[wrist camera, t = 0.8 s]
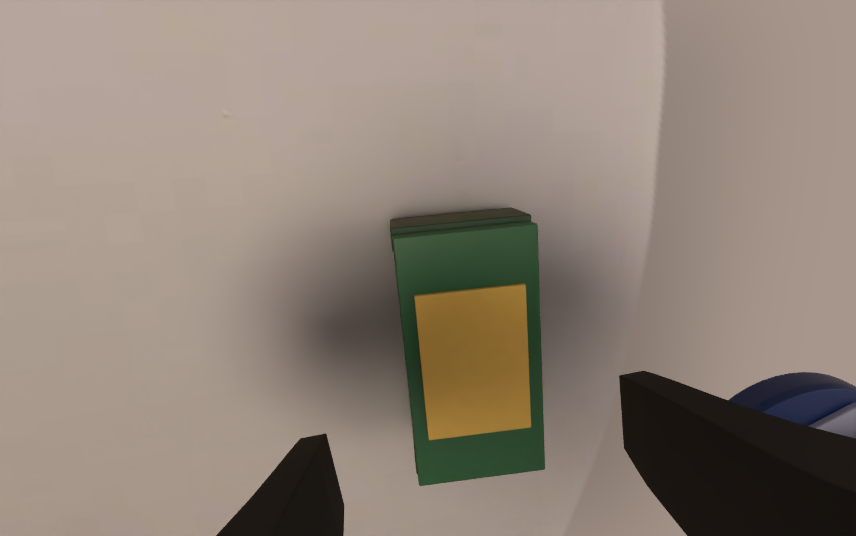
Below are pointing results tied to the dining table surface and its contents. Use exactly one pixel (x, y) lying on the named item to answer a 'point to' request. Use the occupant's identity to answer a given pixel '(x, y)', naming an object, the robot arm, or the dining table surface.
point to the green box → (471, 342)
